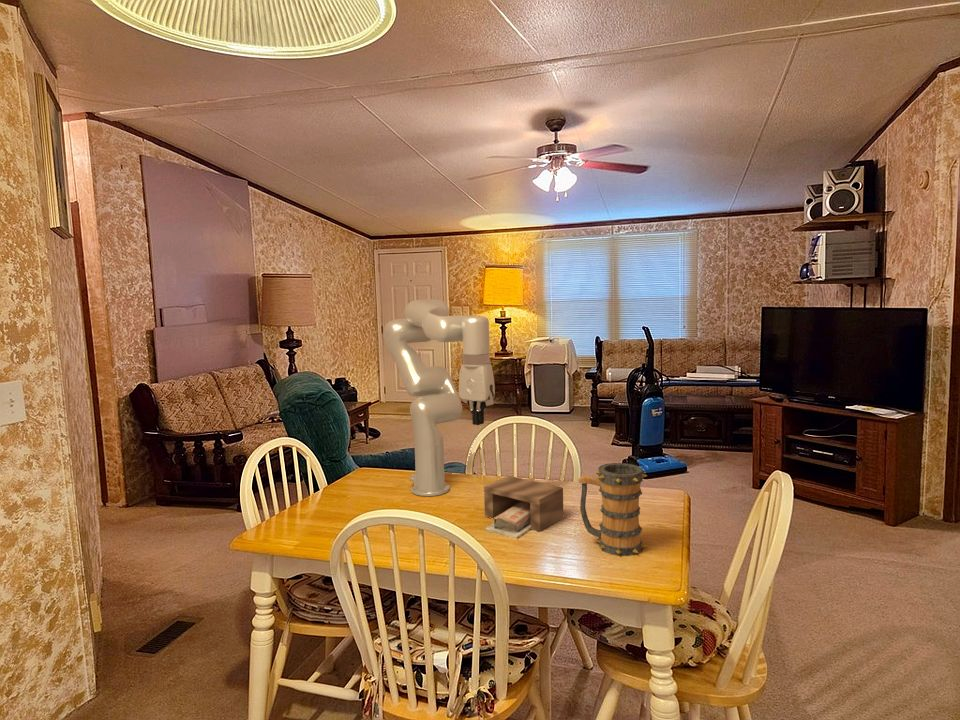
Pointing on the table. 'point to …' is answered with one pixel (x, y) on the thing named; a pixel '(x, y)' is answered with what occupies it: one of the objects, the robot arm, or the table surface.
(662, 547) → the table surface
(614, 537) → the mug
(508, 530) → the packaged product
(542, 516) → the walnut shelf
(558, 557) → the table surface
